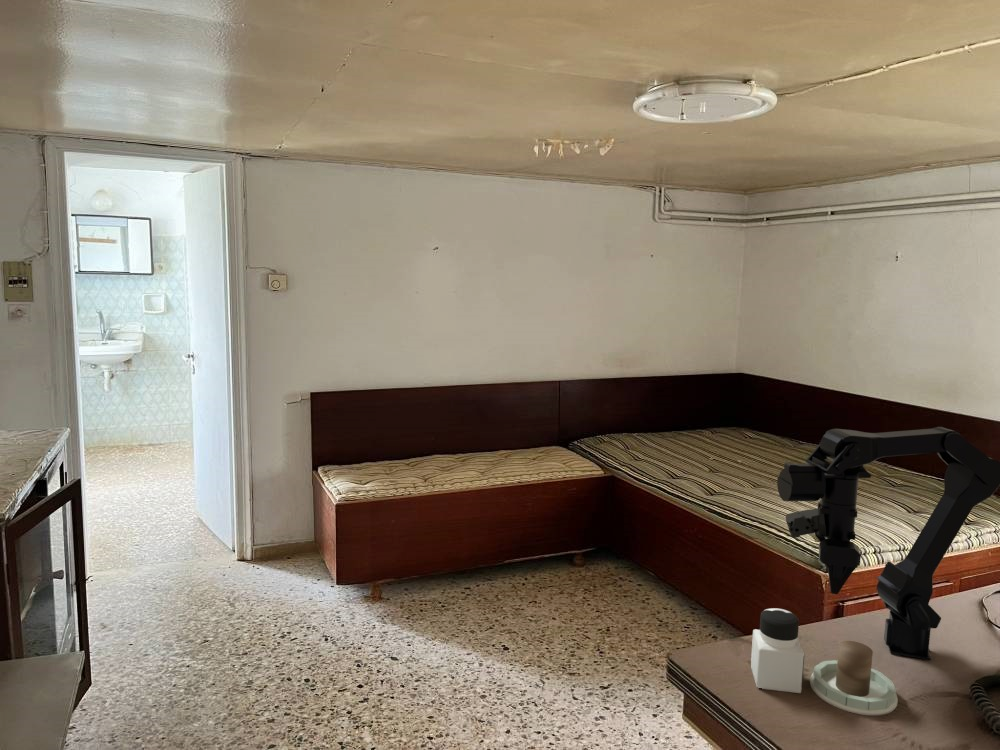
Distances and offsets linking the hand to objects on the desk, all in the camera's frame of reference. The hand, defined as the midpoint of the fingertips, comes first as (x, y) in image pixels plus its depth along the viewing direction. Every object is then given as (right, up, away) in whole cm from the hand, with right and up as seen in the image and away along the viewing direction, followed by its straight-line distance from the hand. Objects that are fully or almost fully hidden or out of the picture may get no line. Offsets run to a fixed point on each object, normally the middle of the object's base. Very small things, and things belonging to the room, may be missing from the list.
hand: (832, 583), depth 129 cm
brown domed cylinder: (-2, -14, -11) cm, 18 cm away
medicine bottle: (-13, -14, -8) cm, 21 cm away
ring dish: (-2, -15, -11) cm, 19 cm away
